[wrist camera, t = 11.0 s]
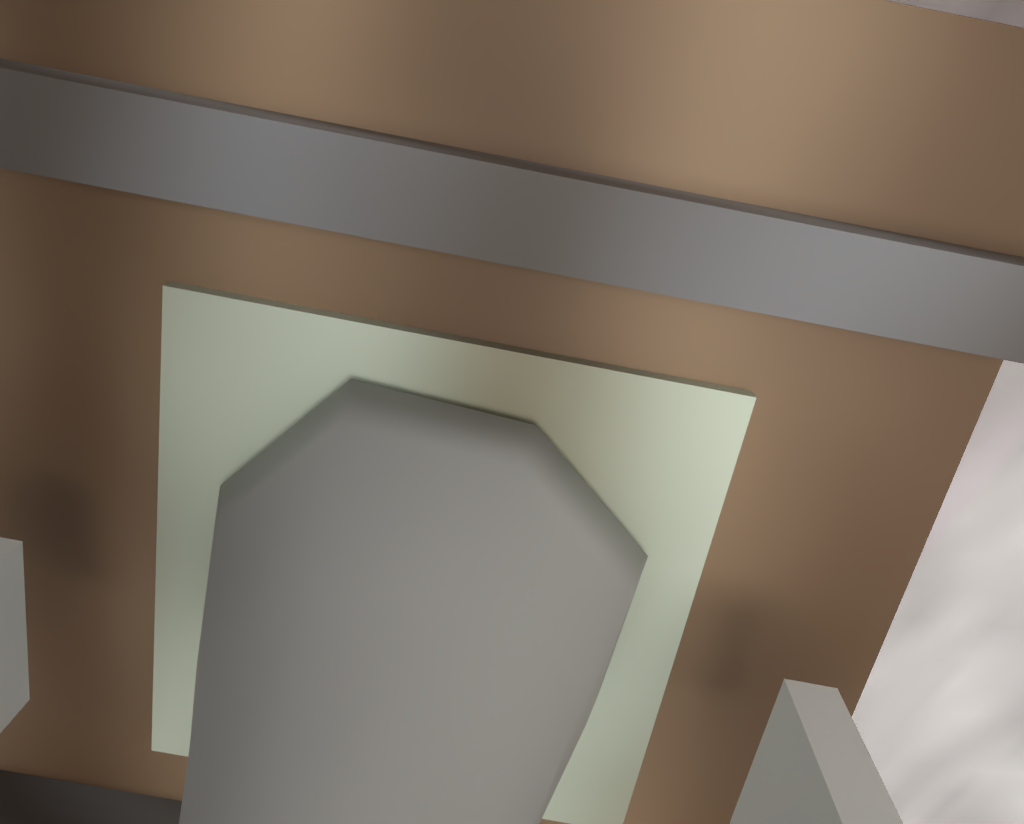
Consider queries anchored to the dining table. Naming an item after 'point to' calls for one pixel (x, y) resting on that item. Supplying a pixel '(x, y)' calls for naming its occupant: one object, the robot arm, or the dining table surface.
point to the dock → (498, 328)
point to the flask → (401, 620)
